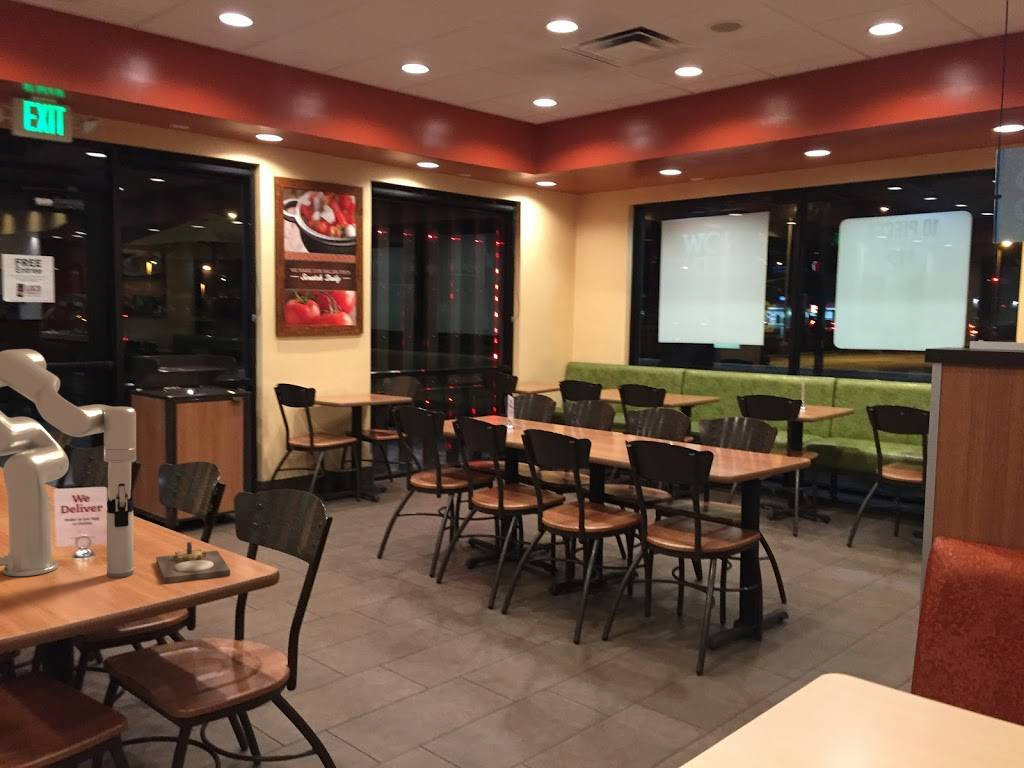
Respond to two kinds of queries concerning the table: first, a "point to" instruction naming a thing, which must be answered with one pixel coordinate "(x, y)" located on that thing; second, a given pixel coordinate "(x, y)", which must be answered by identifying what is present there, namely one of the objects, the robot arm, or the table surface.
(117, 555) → the travel mug
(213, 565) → the grey sink model
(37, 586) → the table surface
